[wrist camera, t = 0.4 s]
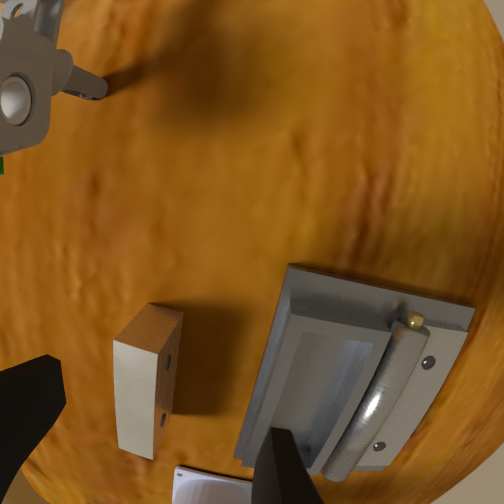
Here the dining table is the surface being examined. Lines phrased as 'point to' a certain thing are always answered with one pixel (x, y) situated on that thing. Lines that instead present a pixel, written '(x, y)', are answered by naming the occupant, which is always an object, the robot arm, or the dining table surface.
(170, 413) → the brushed steel bar
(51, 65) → the mechanical component
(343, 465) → the fixed leaf
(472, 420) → the dining table surface
